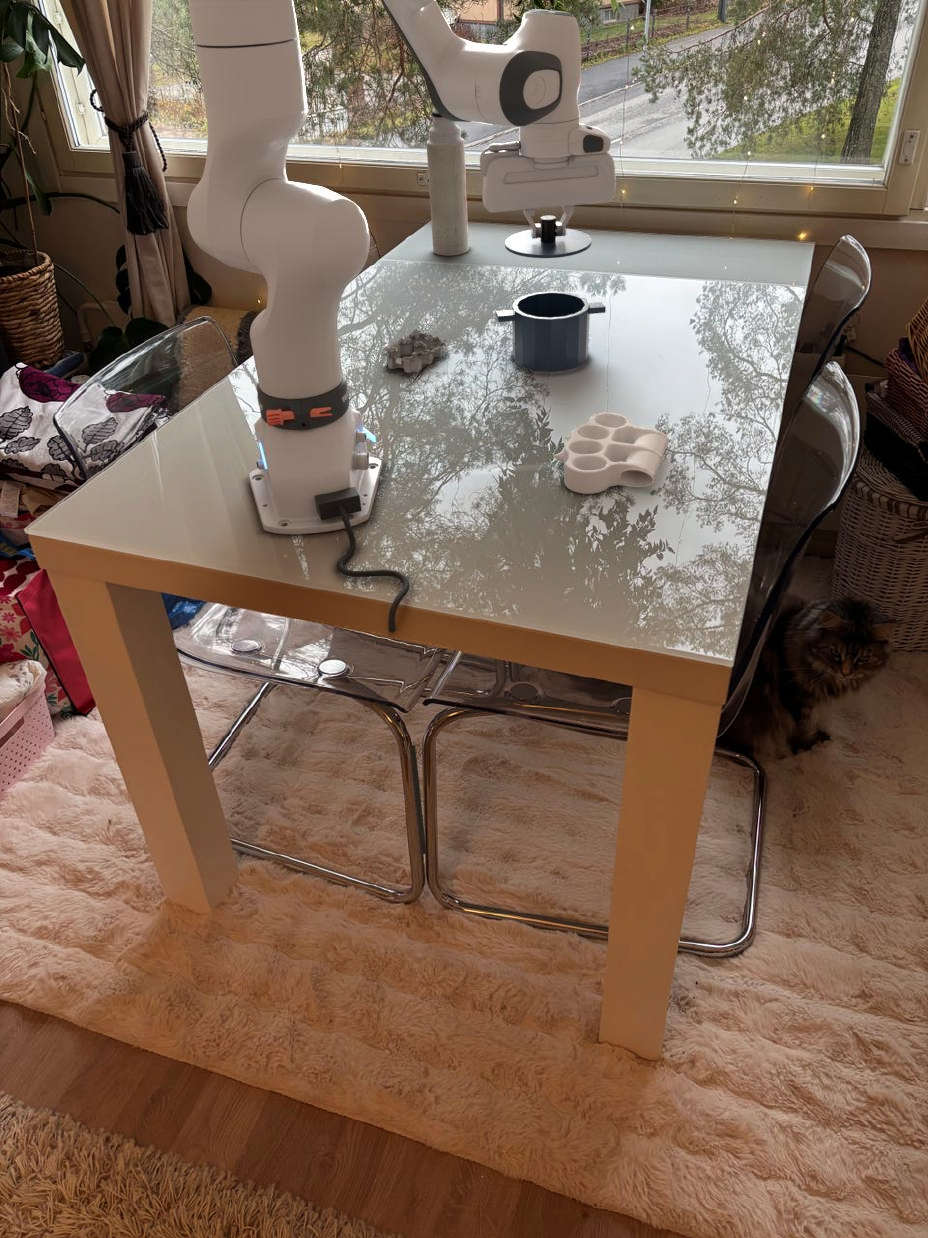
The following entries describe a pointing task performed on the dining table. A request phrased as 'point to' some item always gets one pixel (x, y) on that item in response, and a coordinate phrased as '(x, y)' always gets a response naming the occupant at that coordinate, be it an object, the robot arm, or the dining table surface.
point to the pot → (550, 330)
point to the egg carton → (422, 347)
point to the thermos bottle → (447, 187)
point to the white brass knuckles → (611, 454)
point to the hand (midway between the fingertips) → (548, 236)
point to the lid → (548, 242)
